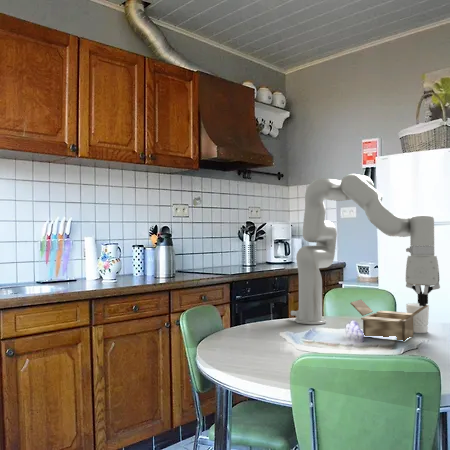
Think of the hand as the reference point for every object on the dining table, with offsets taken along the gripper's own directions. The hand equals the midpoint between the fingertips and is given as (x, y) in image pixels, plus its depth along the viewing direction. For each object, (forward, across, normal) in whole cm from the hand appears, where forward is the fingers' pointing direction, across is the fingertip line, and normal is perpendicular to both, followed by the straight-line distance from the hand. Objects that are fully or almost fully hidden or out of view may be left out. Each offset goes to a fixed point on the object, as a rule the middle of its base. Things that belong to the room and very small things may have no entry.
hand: (422, 305), depth 160 cm
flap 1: (+4, -18, 0) cm, 19 cm away
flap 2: (+4, -4, 0) cm, 6 cm away
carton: (+12, -12, 0) cm, 16 cm away
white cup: (+12, -6, +17) cm, 22 cm away
